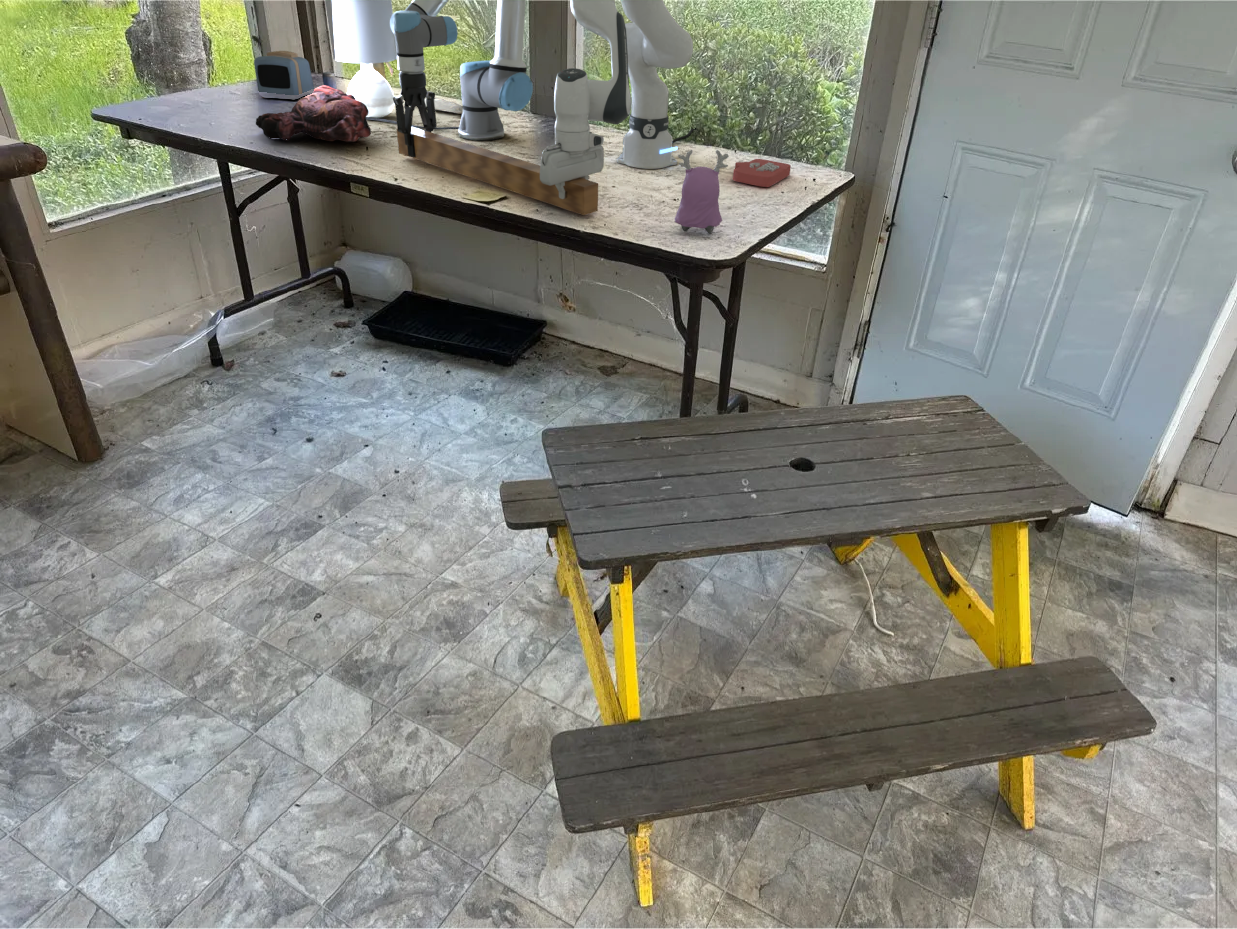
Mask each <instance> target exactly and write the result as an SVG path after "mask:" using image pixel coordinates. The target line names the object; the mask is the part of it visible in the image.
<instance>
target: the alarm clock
mask: <svg viewBox="0 0 1237 929" xmlns="http://www.w3.org/2000/svg"><path fill="white" fill-rule="evenodd" d="M253 65H254V72H255V77H256V78H255V79H256V86H257V92H258V91H259V92H267V93H276V94H285V95H299V94H302V93H304V92H307V91H309V90H311V89H315V85H314V81H313V76H312V72H311V67H310V62H309V60H307V59H306V58H305V57H302V56H299V55H298V53H296V52H293V51H289V50H275V51H269V52H266V55H261V56H257V57H256V58H254V60H253Z"/></svg>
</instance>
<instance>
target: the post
mask: <svg viewBox="0 0 1237 929" xmlns="http://www.w3.org/2000/svg"><path fill="white" fill-rule="evenodd" d="M431 132H432V131H431ZM431 132H428V131H425V129H421V128H415V127H412V128H411V134H413V135H414V145H415V155H416V157H411V156H408V148H407V145H406V144H405V138H404V134H403V133H400V132H398V130H397V129H396V136H397V137H396V138H397V146H398V154H400V155H403V156H406V157H408V158H412V159H414V160H418V161H420V162H423V163H427V164H429V165H433V166H436V167H439V168H442V169H444V170H448V171H450V172H453V173H455V174H456V173H457V174H459V175H463V176H465V177H469V178H471V179H474V180H478V181H479V182H483V183H486V184H489V185H492V186H494V187H495V186H496V187H498V188H500V189H504V190H507V191H510V192H513V193H516V194H519V195H522V196H524V197H527V198H531V199H534V200H537V201H539V202H543V203H546V204H549V205H551V206H555V207H557V208H561V209H564V210H567V211H570V212H573V213H575V214H579V215H582V216H587V215H590V214H593V213H597V212H599V211H598V210H599V182H596V181H592V180H591V179H590V180H589V179H588V180H586V179H583V178H577V179H573V180H569V181H566V182H565V186H563V187H564V190H565V191H567V198H565V199H561V198H559V191H558V189H557V187H556V186H555V185H551V186H549V185H546V184H543V183H542V182H541V181H540V164H538V163H537V164H536V163H533V162H531V161H527V160H524V159H520V158H517V157H513V156H511V155H506V154H503V153H500V152H497V151H494V150H490V149H488V148H483V147H481V146H478V145H474V144H470V143H467V142H464V141H461V140H458V139H454V138H451V137H447V136H444V135H441V134H438V133H434V132H432V133H431Z"/></svg>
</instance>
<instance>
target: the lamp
mask: <svg viewBox="0 0 1237 929" xmlns="http://www.w3.org/2000/svg"><path fill="white" fill-rule="evenodd" d="M324 3H325V9H326V18H327V23H328V30H329V37H330V45H331V51H332V58H333V60H334V61H336V62H341V63H348V64H360V70H358V71H357V72H356V74H354V76H353V77H352V79H351V80H350V82H349V84H348V87H347V92H346V94H348V95H349V94H352V95H353V96H354V97H355V99H356V100H358V101H360V102H362V103H364V104H365V105H366V107H367V109H368V110H369V114H368V116H366V117H370V118H379V119H383V118H385V117H387V116H389V115H390V114H391V113H392V111H393V110H394V107H395V103H394V101H393V97H395V95H394V91H393V89H392V87H391V85H390V83H389V82H388V81H386V80H387V79H386V80H385V79H384V78H383V77H382V76H381V75H380V74H379V73H378V72H376V71H375V70H374V69H373V65H372V63H385V62H389V63H390V62H393V61H397V51H396V42H395V35H394V34H393V32H392V30H391V27H390V19H391V16H392V15H393V13H394V12H393V2H392V0H324Z"/></svg>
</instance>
